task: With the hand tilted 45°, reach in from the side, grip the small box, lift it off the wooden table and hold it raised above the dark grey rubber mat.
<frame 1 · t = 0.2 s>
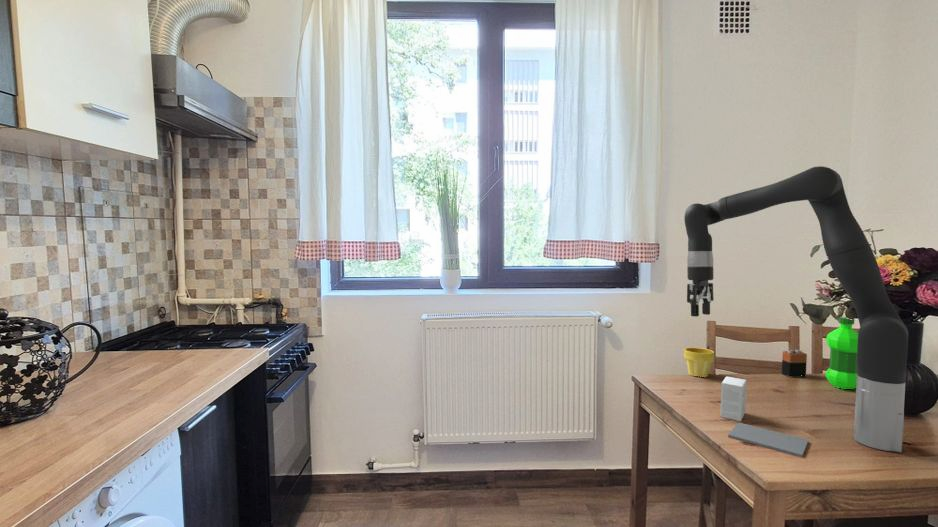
hand: (700, 315, 145), 28 cm above the table, tool pointing down, fingers open, 8 cm apart
mat: (767, 439, 118), on the table
battery: (793, 376, 173), on the table
plastic bottle: (842, 388, 159), on the table
small box: (732, 415, 134), on the table
plant pot: (698, 375, 173), on the table
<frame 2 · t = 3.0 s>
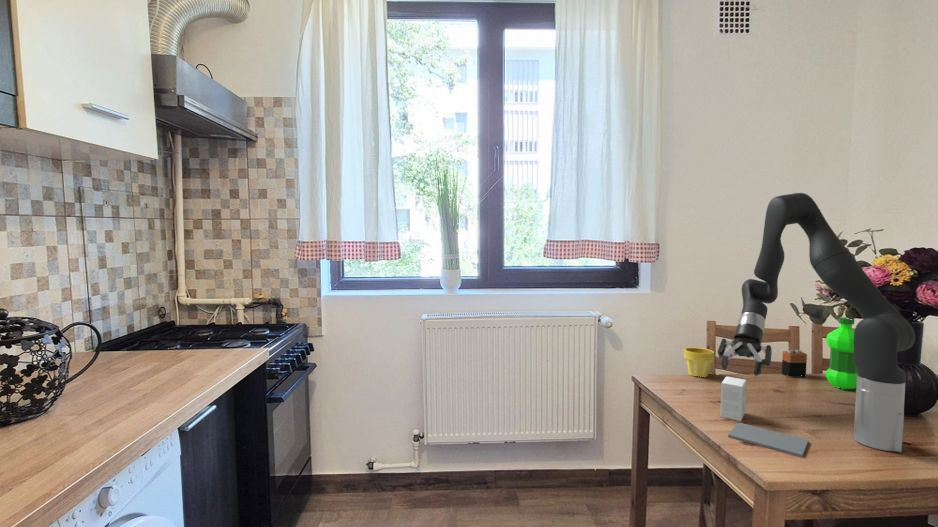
hand: (739, 371, 138), 12 cm above the table, tool tilted 45°, fingers open, 8 cm apart
nothing on the table moved.
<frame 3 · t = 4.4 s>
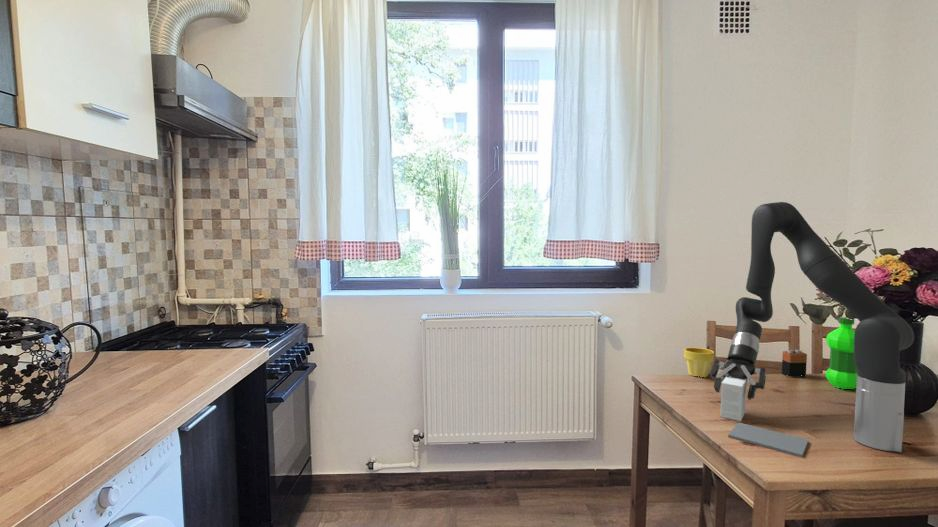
hand: (732, 394, 134), 6 cm above the table, tool tilted 45°, fingers open, 8 cm apart
nothing on the table moved.
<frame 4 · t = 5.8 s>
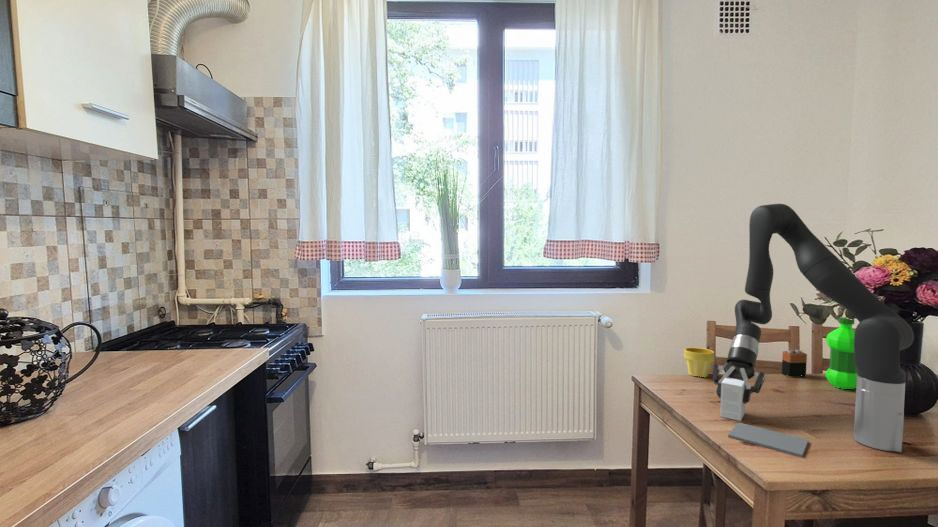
hand: (731, 399, 133), 5 cm above the table, tool tilted 45°, fingers closed on small box, 6 cm apart
small box: (732, 415, 134), on the table, touching gripper
everything else where it was.
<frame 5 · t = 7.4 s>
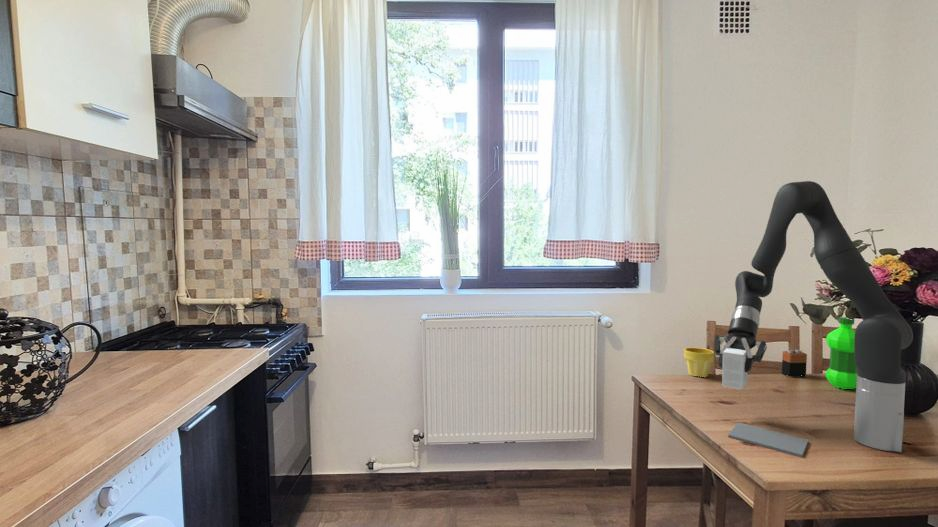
hand: (733, 368, 132), 15 cm above the table, tool tilted 45°, fingers closed on small box, 6 cm apart
small box: (734, 385, 134), point 9 cm above the table, touching gripper
everything else where it was.
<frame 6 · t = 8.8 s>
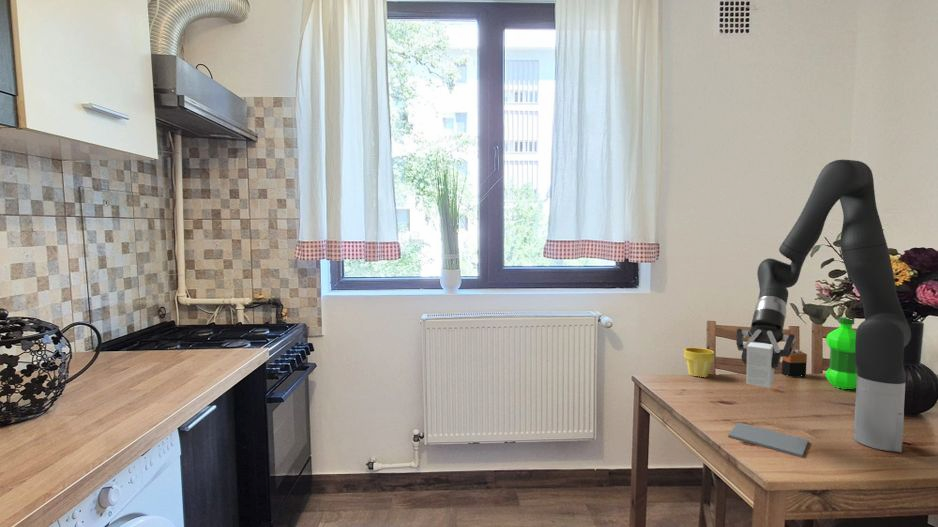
hand: (759, 364, 120), 19 cm above the table, tool tilted 45°, fingers closed on small box, 6 cm apart
small box: (760, 383, 122), point 14 cm above the table, touching gripper
everything else where it was.
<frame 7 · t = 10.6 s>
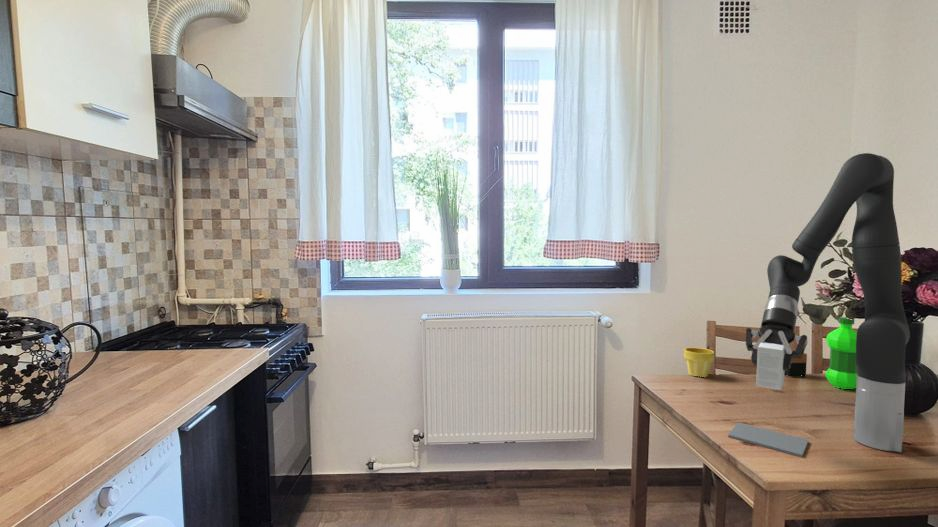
hand: (769, 366, 116), 20 cm above the table, tool tilted 45°, fingers closed on small box, 6 cm apart
small box: (770, 385, 117), point 15 cm above the table, touching gripper
everything else where it was.
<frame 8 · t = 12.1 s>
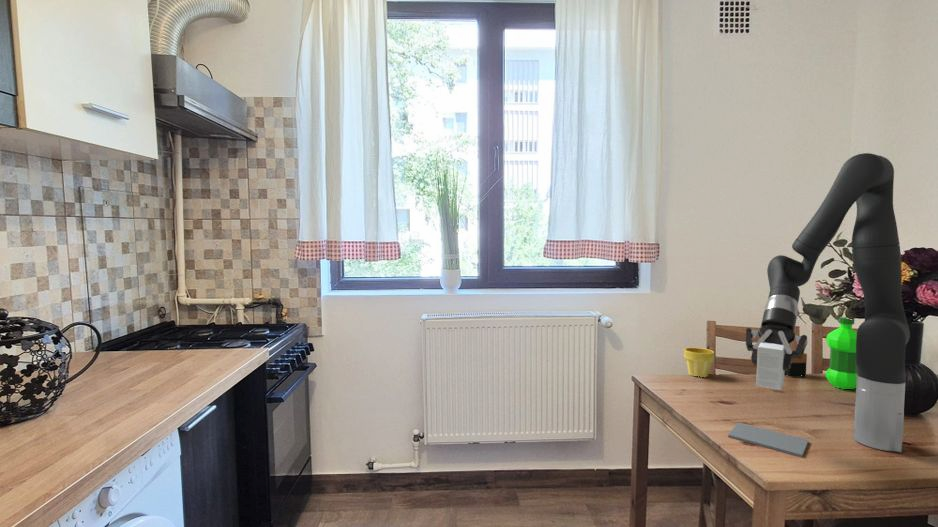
hand: (769, 366, 116), 20 cm above the table, tool tilted 45°, fingers closed on small box, 6 cm apart
small box: (770, 385, 117), point 15 cm above the table, touching gripper
everything else where it was.
at the end: the gripper is holding small box; small box point 14.6 cm above the table; small box 0.1 cm from the mat (horizontally) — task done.
